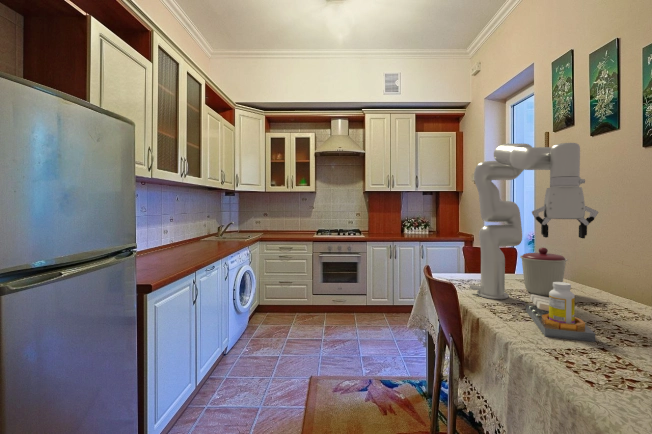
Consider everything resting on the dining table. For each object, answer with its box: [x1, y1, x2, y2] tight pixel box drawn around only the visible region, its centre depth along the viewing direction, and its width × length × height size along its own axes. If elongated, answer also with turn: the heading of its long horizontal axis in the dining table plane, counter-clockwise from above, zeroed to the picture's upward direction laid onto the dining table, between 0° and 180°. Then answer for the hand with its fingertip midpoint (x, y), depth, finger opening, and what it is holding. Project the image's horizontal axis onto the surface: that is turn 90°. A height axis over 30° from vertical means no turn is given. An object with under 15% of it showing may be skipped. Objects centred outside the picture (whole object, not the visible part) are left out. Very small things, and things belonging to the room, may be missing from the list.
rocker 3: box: [536, 301, 549, 311], centre depth 112 cm, size 10×3×2 cm, turn 70°
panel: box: [525, 304, 596, 343], centre depth 110 cm, size 13×26×4 cm, turn 160°
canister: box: [519, 247, 568, 297], centre depth 150 cm, size 18×18×21 cm
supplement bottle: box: [548, 281, 576, 324], centre depth 104 cm, size 7×7×13 cm
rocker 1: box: [529, 293, 549, 302], centre depth 121 cm, size 10×3×2 cm, turn 70°
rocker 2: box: [532, 297, 549, 306], centre depth 116 cm, size 10×3×2 cm, turn 70°
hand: (563, 237), depth 104 cm, fingers open, 9 cm apart
